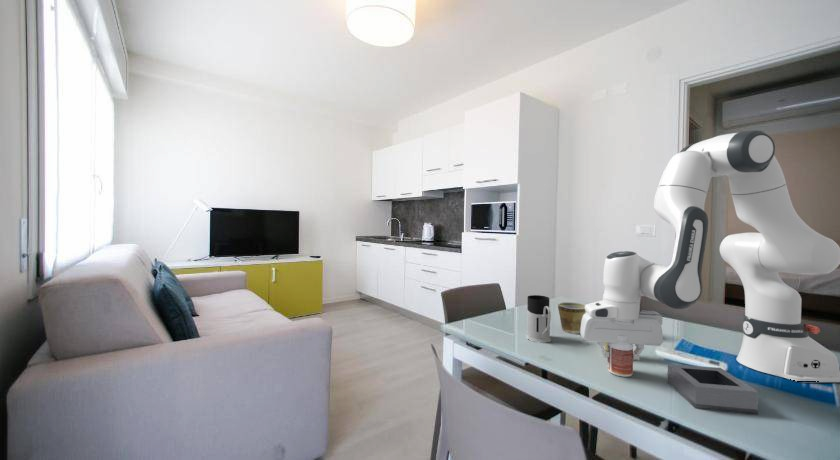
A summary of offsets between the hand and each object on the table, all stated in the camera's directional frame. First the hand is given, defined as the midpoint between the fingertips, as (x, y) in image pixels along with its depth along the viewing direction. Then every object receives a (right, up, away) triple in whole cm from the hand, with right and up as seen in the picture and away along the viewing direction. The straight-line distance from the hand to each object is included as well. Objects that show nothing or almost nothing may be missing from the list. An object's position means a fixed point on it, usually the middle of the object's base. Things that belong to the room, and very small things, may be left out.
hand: (619, 358), depth 93 cm
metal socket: (+14, -4, -13) cm, 19 cm away
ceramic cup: (+2, -3, +36) cm, 37 cm away
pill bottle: (0, -4, 0) cm, 4 cm away
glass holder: (-13, -4, +24) cm, 28 cm away
